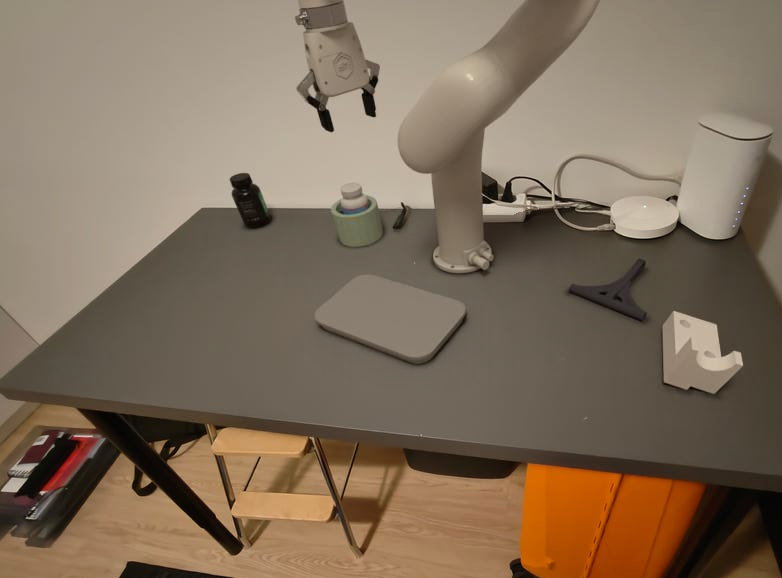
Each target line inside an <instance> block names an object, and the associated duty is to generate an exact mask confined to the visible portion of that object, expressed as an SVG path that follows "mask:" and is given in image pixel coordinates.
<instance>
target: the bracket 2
mask: <svg viewBox="0 0 782 578" xmlns="http://www.w3.org/2000/svg"><path fill="white" fill-rule="evenodd" d="M662 362H663V365H662V367H663V383H665V384H668V385H671V386H674V387H677V388H680V389H683V390H685V391H686V390H689V389H690V387H692V388H695V389H698V390H701V391H703V392H707V393H710V394H713V395H715V394H716V393H717V392H718V391H719V390H720V389H721V388H722V387H723V386H724V385H725V384H726V383H728V381H729V380H730V379H732V377H734V376H735V374H736V373H738V371H740V370H741V369H742V368H743V367H744V363H743V358H742V352H740V351H737V350H733V351H732V352H730V353H729V354H726V355H724V356H722V352H721V346H720V339H719V332H718V325H717V324H716V323H713V322H710V321H707V320H703V319H702V318H701V319H700V318H697V317H694V316H691V315H689V314H685V313H682V312H680V311H675V310H673V311H672V312H671V313H670V315H669V316H668V318H667V319H666V320H665V321H664V323H663V325H662Z"/></svg>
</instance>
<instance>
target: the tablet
mask: <svg viewBox="0 0 782 578" xmlns="http://www.w3.org/2000/svg"><path fill="white" fill-rule="evenodd" d="M466 309H467V308H466V306H465V304H464V303H463V302H461V301H460V300H457V299H454V298H451V297H447V296H444V295H441V294H437V293H434V292H432V291H431V292H430V291H428V290H426V289H425V290H424V289H421V288H418V287H414V286H410V285H409V284H404V283H401V282H398V281H395V280H391V279H388V278H385V277H382V276H378V275H374V274H361V275H358V276H355V277H353V278H352V279H351V280H350V281H349V282H347V283H346V284H345V285H344V286H343V287H342V288H340V289H339V290H338V291H337V292H336V293H334V295H333V296H331V297H330V298H329V299H328V300H326V301H325V302H324V303H323V304H322V305H321V306H319V307H318V308H317V309H316V311H315V312H314V319H315V322H316V323H317V324H318V325H319V326H321V327H322V328H323V329H324V330H326V331H329V332H331V333H333V334H336V335H339V336H342V337H344V338H346V339H349V340H352V341H354V342H357V343H360V344H362V345H365V346H367V347H370V348H372V349H375V350H377V351H380V352H382V353H385V354H388V355H390V356H393V357H395V358H398V359H401V360H403V361H406V362H408V363H411V364H415V365H417V364H418V365H421V364H425V363H427V362H429V361H431V360H432V359H433V358H434V356H435V355H436V354H437V353H438V352H439V350H440V349H442V347H443V345H444V344H445V343H446V342H447V341H448V340H449V338H450V337H451V336H452V335H453V334H454V333H455V332H456V330H457V329H458V328H459V326H461V324H462V323H463V319H464V318H465V316H466V312H467V311H466Z"/></svg>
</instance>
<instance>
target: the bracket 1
mask: <svg viewBox="0 0 782 578" xmlns="http://www.w3.org/2000/svg"><path fill="white" fill-rule="evenodd" d="M646 263H647V261H646V260H645V259H642V258H639V257H638V258H637V259H636V260H635V262H634V264H632V266H631V267H630V269H629V270H628V271H627V273H626V274H625V275H624V276H622V277H621V278H620V279H618V280H615V281H613V282H610V283H606V284H601V285H579V284H576V283H571V284H570V286H569V287H568V288H569V289H568V291H569V292H570V293H572V294H574V295H577V296H580V297H581V298H585V299H587V300H589V301H592V302H594V303H596V304H599V305H602V306H604V307H607V308H609V309H612V310H614V311H616V312H619V313H622V314H624V315H626V316H629V317H631V318H634V319H636V320H639V321H641V322H643V321H644V320H645V318H646V316H647V314H648V313H647V312H646V311H644V310H643V309H642V308H641V307H640V306H639V305H638V304H637V303H636V302H635V301H634V299H633V297H632V295H631V291H630V290H631V289H630V288H631V285H632V283H633V282H634V281H635V279H637V278H638V277H639V275H640V274H641V273H642V272H643V271H644V269H645V267H646ZM604 293H605V294H604ZM617 298H619V299H620V300H621V301H619V300H616V299H617Z"/></svg>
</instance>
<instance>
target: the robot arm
mask: <svg viewBox="0 0 782 578" xmlns="http://www.w3.org/2000/svg"><path fill="white" fill-rule="evenodd" d="M297 2H298V6H299V14H298V15H295V17H294V20H295V23H296V25H297V26H303V28H304V29H305V31H303V32H302V35H303V44H304V52H305V58H306V63H307V68H308V73H307V74H306V75H305V76H304V77H303V78H302V80H301V81H300V83H298V85H297V86H296V88H295V89H296V91H297V93H299V95H300V97H301V98H302V99H303V100H304V101H305V103H307V104H308V105H309V106H311V107H313V108H314V109H316V112H317V116H318V119H319V122H320V125H321V127H322V129H324V130H325V131H326V132H329V133H333V132H334V131H335V127H334V123H333V120H332V116H331V112H330V110H329V109H327V104H328V101H329V99H330V98H334V97H338V96H341V95H345V94H347V93H350V92H354V91H357V90H361V91H362V92H361V100H362V105H363V110H364V113H365V114H364V115H366V116H368V117H370V118H373V119H374V118H376V117H377V107H376V101H375V97H374V95H375V92H376V87H377V84H378V83H379V75H380V71H381V70H380V69H381V66H380V64H379V63H377V62H374V61H371V60H368V59H366V58H365V53H364V50H363V47H362V43H361V41H360V37H359V35H358V32H357V30H356V28H355V25H354V23H353V22H351V21H350V22H349V19H348V16H347V11H346V6H345V1H344V0H297ZM600 2H601V0H524V1H523V2H522V3H521V4H520V5H519V6H518V7H517V8H516V9H515V11H514V12H513V13H512V14H511V15H510V16H509V17H508V19H507V20H506V22H505V23H504V24H503V25H502V27H501V28H500V29H499V30H498V31H496V33H495V34H494V36H492V37H491V39H490V40H488V42H487V43H485V45H483V46H482V47H480V48H479V49H477V50H475V51H474V52H472V53H470V54H467V55H466V56H464V57H462V58H461V59H458V60H457V61H455V62H453V63H452V64H450V65H449V66H447V67H446V68H445V69H444V70H443V71H442V72H441V73H440V74H439V75H438V76H437V77H436V78H435V79H434V80H433V82H432V83H431V84H430V86H429V87H428V88H427V89H426V90H425V92H424V93H423V94H422V95H421V97H419V99H418V101H417V102H416V103H415V104H414V105H413V107H412V108H411V109H410V111H408V113H407V114H406V116H405V117H404V118H403V120H402V122H401V123H400V125H399V128H398V133H397V148H398V152H399V155H400V158H401V160H402V161H403V163H404V164H405V165H406V166H407V167H408V168H409V169H411V170H412V171H414V172H416V173H419V174H424V175H430V174H431V175H430V176H431V186H432V187H431V188H432V198H433V205H434V207H433V208H434V215H435V223H436V231H437V239H438V246H437V247H436V248H435V249H434V251H433V254H432V259H433V264H434V265H435V266H436V267H437V268H438V269H440V270H442V271H444V272H447V273H452V274H468V273H473V272H476V271H478V270H481V269H482V270H483V271H486V270H487V269H489V267H490V262H492V261H493V260H494V259H495V255H494V254H493V253H492V248H491V246H490V244H489V243H487V241H486V240H485V234H484V233H485V232H484V231H485V229H484V206H483V205H484V203H483V177H482V176H483V175H482V173H483V172H482V171H483V169H482V168H483V167H482V166H483V165H482V164H483V150H484V141H485V129H486V128H487V127H489V126H490V125H492V124H493V123H494V122H495V121H497V120H498V119H499V118H501V117H502V116H503V115H504V114H506V113H507V112H508V111H509V110H510V109H511V108H512V106H513V105H514V104H515V103H516V102H517V101H518V99H519V98H521V96H522V95H523V94H524V93H526V91H527V90H528V89H529V88H530V87H531V86H532V85H534V83H535V82H536V81H537V80H538V79H540V77H542V75H544V74H545V72H546V71H547V70H548V69H549V68H550V67H551V66H552V65H553V64H554V63H555V62H556V61H557V60H558V59H559V58H560V57H561V56H562V55H563V54H564V53H565V52H566V51H567V50H568V49H569V48H570V47H571V45H572V44H573V43H574V42H575V41H576V40H577V39H578V38H579V36H580V35H581V34H582V32H583V31H584V29H585V28H586V27H587V25H588V23H589V22H590V21H591V19H592V17H593V16H594V14H595V12H596V10H597V9H598V6H599V4H600ZM311 87H312V88H313V90H314V92H315V96H314V97H313V96H312V95H311V94H310V92H309V89H310V88H311Z"/></svg>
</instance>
